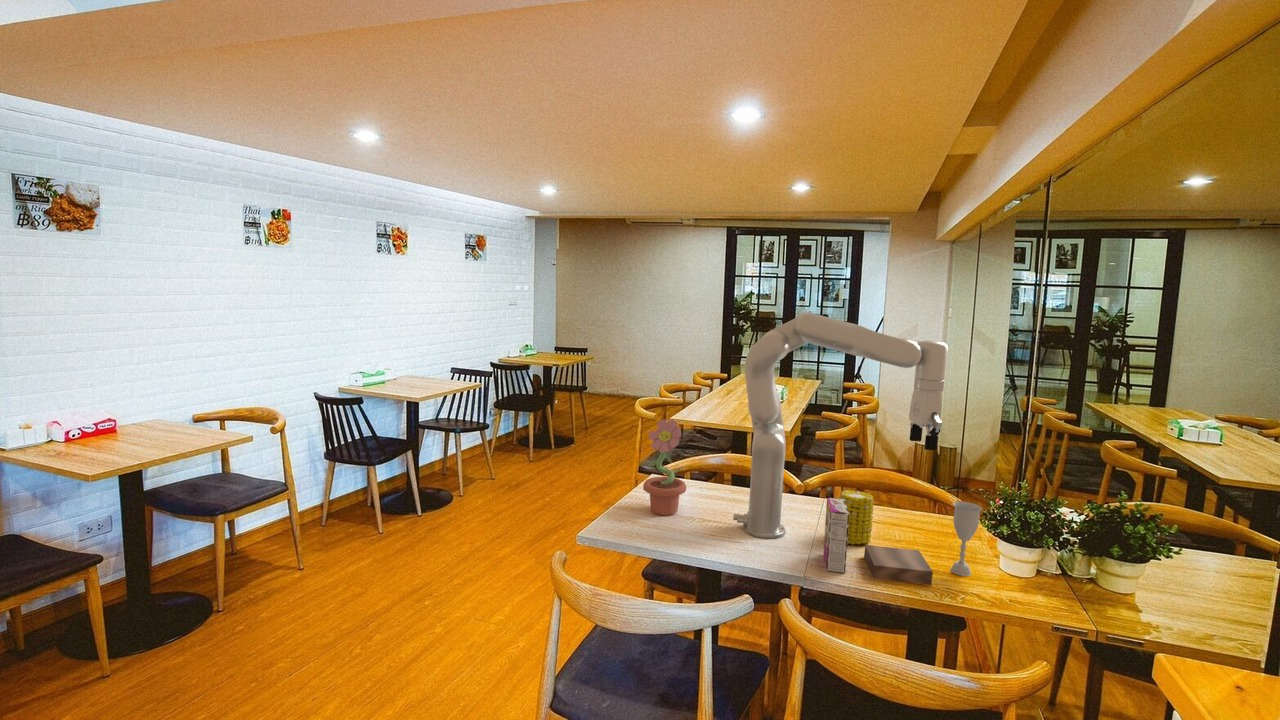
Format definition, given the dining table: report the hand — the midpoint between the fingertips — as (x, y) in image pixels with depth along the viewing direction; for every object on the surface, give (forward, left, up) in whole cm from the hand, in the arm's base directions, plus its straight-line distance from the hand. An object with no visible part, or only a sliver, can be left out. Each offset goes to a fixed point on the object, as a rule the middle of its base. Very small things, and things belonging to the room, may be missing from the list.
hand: (922, 445), depth 176 cm
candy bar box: (-24, -17, -31) cm, 42 cm away
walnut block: (-8, -17, -31) cm, 36 cm away
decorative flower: (-74, +10, -31) cm, 81 cm away
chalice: (+9, -13, -31) cm, 34 cm away
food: (-16, +2, -31) cm, 35 cm away
